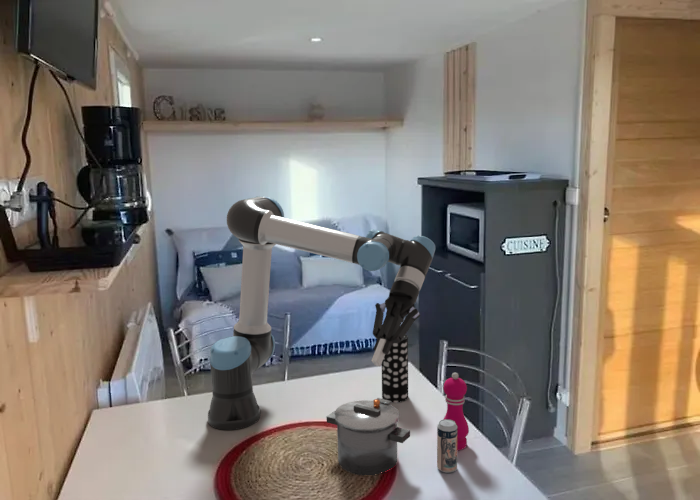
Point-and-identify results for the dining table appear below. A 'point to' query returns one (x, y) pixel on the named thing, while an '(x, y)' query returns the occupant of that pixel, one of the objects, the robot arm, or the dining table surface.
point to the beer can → (447, 446)
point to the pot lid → (367, 415)
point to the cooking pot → (368, 448)
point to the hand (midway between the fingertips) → (375, 363)
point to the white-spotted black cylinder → (396, 372)
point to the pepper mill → (456, 407)
